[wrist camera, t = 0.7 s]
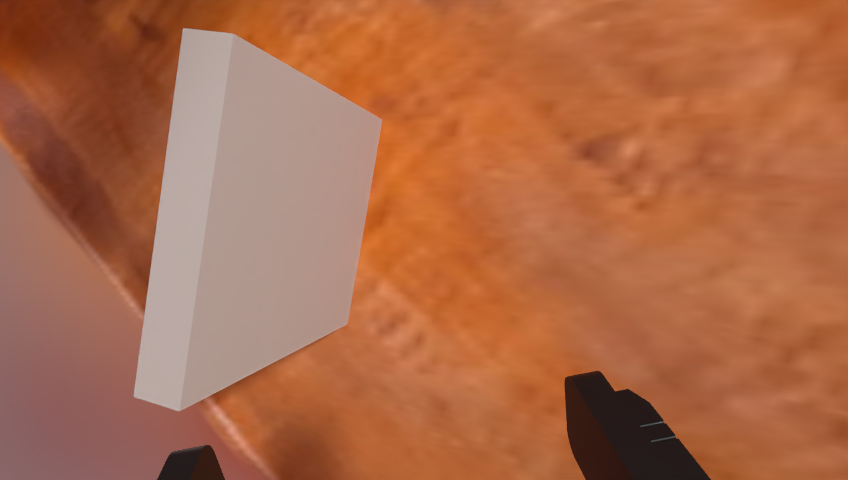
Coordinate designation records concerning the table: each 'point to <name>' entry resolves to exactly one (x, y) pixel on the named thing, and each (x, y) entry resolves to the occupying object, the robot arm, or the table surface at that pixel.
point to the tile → (250, 219)
